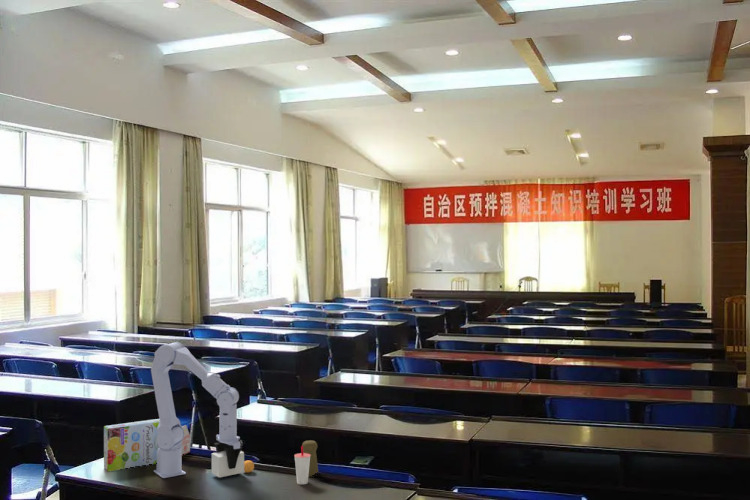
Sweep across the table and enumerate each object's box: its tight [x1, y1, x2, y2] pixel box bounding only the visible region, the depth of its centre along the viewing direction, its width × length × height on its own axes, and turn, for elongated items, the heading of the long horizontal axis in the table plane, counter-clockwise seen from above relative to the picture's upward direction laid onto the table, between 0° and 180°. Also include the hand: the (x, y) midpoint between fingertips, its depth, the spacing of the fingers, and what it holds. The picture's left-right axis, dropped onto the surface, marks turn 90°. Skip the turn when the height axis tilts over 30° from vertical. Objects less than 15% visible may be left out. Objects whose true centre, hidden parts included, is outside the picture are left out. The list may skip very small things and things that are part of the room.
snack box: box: [103, 418, 160, 472], centre depth 242 cm, size 21×6×15 cm, turn 124°
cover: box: [211, 450, 245, 479], centre depth 230 cm, size 6×9×7 cm, turn 127°
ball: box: [244, 460, 255, 474], centre depth 234 cm, size 4×4×4 cm
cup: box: [293, 445, 311, 485], centre depth 223 cm, size 5×5×12 cm
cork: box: [301, 439, 319, 477], centre depth 233 cm, size 6×6×11 cm
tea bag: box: [181, 424, 191, 456], centre depth 257 cm, size 4×7×10 cm, turn 163°
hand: (227, 466), depth 230 cm, fingers closed on cover, 6 cm apart
